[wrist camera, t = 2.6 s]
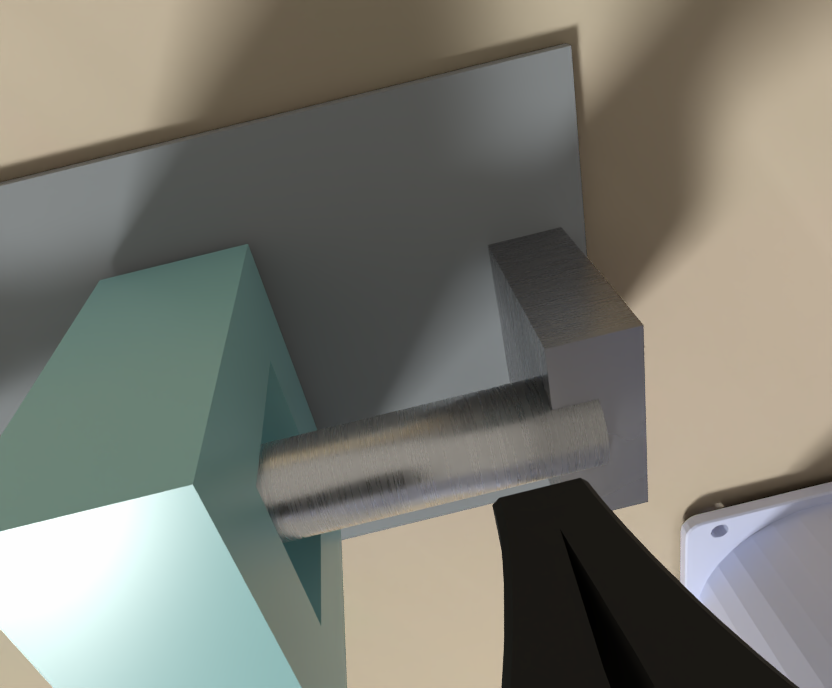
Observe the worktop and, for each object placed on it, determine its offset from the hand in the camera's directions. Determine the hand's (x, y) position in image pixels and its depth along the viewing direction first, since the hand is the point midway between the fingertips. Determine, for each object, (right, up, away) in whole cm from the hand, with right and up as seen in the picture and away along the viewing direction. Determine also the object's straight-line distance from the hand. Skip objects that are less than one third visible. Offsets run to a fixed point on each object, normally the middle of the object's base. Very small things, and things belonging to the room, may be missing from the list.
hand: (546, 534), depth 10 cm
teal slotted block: (-6, +2, +5) cm, 8 cm away
